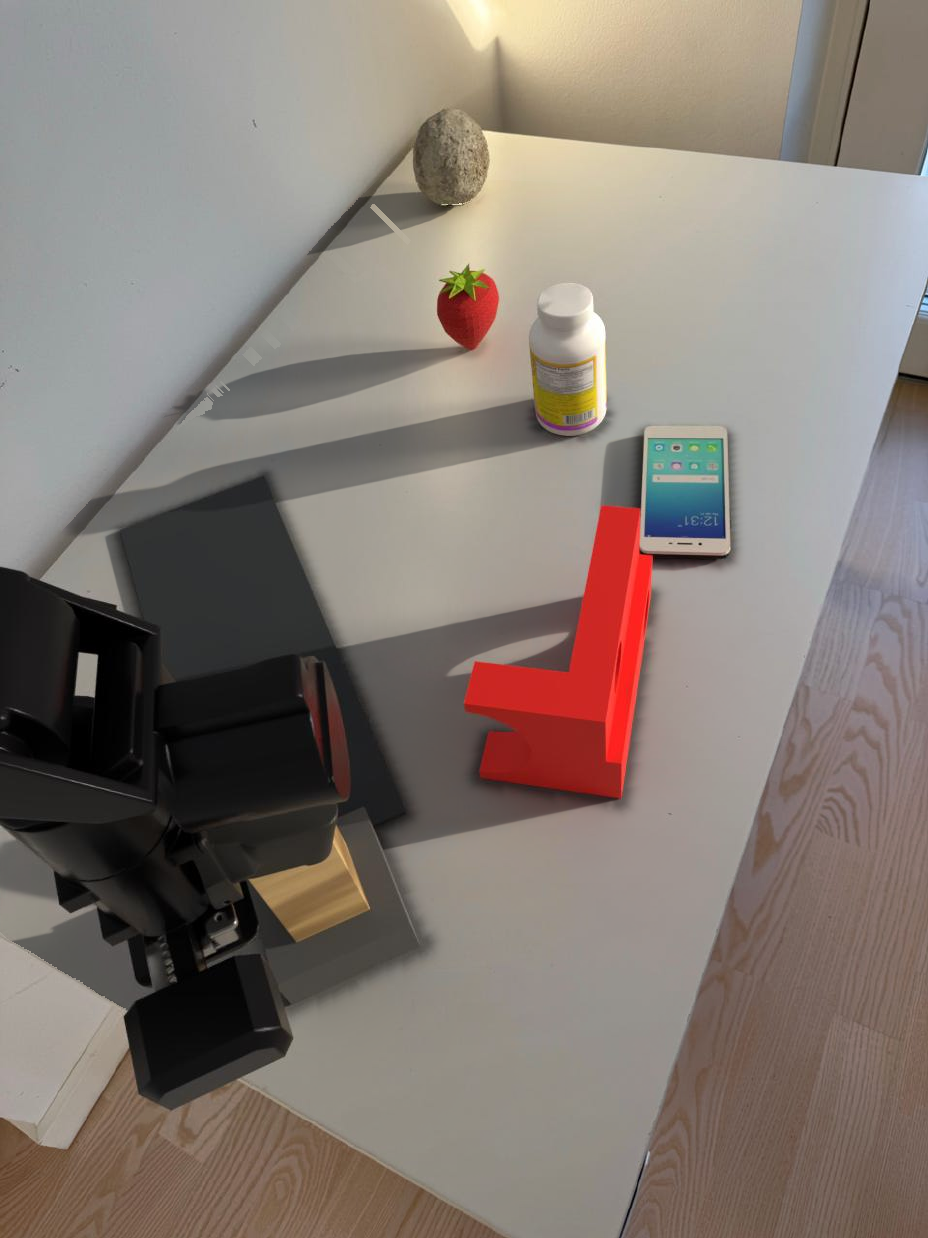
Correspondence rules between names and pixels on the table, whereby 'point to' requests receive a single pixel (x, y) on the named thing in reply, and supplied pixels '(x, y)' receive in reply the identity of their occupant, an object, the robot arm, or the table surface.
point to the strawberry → (467, 306)
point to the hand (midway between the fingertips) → (229, 941)
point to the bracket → (576, 680)
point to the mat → (246, 611)
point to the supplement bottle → (568, 361)
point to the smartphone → (685, 493)
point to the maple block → (315, 893)
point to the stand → (341, 924)
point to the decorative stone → (450, 157)
